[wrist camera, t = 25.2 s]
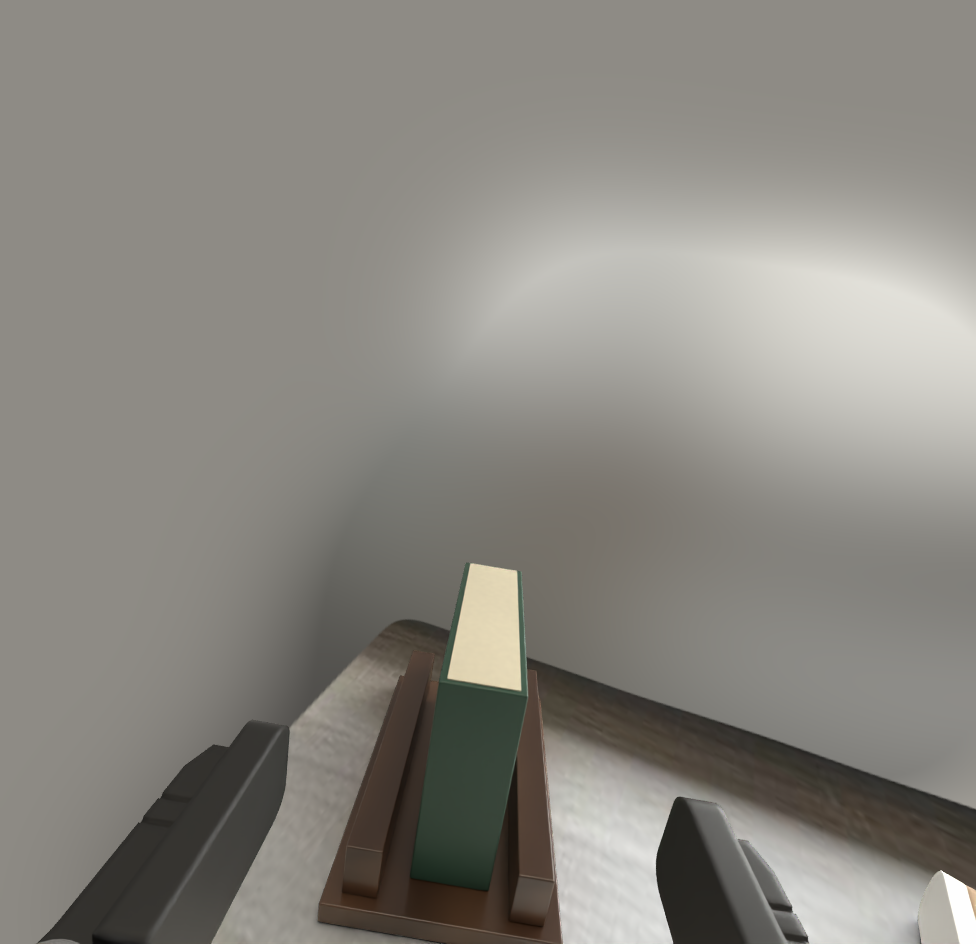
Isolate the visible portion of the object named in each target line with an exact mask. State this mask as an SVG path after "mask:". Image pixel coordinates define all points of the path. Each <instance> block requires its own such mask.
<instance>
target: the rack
mask: <svg viewBox="0 0 976 944" xmlns="http://www.w3.org/2000/svg"><path fill="white" fill-rule="evenodd" d="M434 656H435V654H432V653H426V652H420V651H414V650H413V652H412V655H411V658H410V661H409V664H408V667H407V670H406V673H405V676H400V677H399V680H398V682H397V685H396V688H395V691H394V694H393V697H392V699H391V702H390V705H389V708H388V711H387V713H386V716H385V719H384V722H383V725H382V727H381V730H380V733H379V736H378V739H377V742H376V744H375V747H374V750H373V753H372V756H371V758H370V761H369V764H368V767H367V770H366V773H365V775H364V778H363V781H362V784H361V787H360V789H359V792H358V795H357V798H356V801H355V803H354V806H353V809H352V812H351V815H350V818H349V820H348V823H347V826H346V829H345V832H344V834H343V837H342V840H341V843H340V846H339V848H338V851H337V854H336V857H335V860H334V863H333V865H332V868H331V871H330V874H329V877H328V879H327V882H326V885H325V888H324V891H323V894H322V896H321V899H320V902H319V909H318V921H319V922H324V923H330V924H336V925H342V926H347V927H353V928H359V929H365V930H371V931H376V932H382V933H388V934H394V935H400V936H406V937H411V938H417V939H423V940H429V941H435V942H440V943H446V944H563V939H562V928H561V918H560V907H559V896H558V885H557V874H556V864H555V853H554V842H553V831H552V821H551V810H550V799H549V788H548V778H547V767H546V756H545V745H544V734H543V724H542V713H541V702H540V699H539V696H538V684H537V673H536V671H534V670H528V669H527V681H528V701H527V706H526V711H525V716H524V721H523V726H522V731H521V736H520V741H519V745H518V750H517V755H516V760H515V765H514V770H513V775H512V780H511V785H510V790H509V794H508V799H507V804H506V809H505V814H504V819H503V824H502V829H501V834H500V838H499V843H498V848H497V853H496V858H495V863H494V868H493V873H492V878H491V883H490V887H489V890H488V891H483V890H477V889H471V888H465V887H460V886H454V885H448V884H442V883H436V882H431V881H425V880H419V879H413V878H410V870H411V864H412V857H413V850H414V844H415V837H416V830H417V823H418V817H419V810H420V803H421V797H422V790H423V783H424V777H425V770H426V763H427V757H428V750H429V743H430V737H431V730H432V723H433V716H434V710H435V703H436V696H437V690H438V683H439V682H437V681H431V676H432V669H433V663H434Z"/></svg>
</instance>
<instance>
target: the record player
mask: <svg viewBox="0 0 976 944" xmlns="http://www.w3.org/2000/svg"><path fill="white" fill-rule="evenodd" d="M918 925H919V931H920V937H921V943H922V944H976V891H975V890H974V889H972V888H970V887H968V886H965V884H963V883H961V882H960V881H958V880H956V879H954V878H953V877H951V876H949V875H947V874H946V873H944V872H942V871H938V872H937V873H936V874H935V875H934V876H933V878H932V879H931V881H930V883H929V884H928V886H927V888H926V890H925V892H924V895H923V897H922V900H921V903H920V907H919V911H918Z"/></svg>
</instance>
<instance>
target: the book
mask: <svg viewBox="0 0 976 944" xmlns="http://www.w3.org/2000/svg"><path fill="white" fill-rule="evenodd" d="M524 628H525V627H524V609H523V591H522V574H521V571H515V570H509V569H503V568H497V567H491V566H485V565H479V564H473V563H466V564H465V568H464V573H463V578H462V582H461V586H460V590H459V595H458V599H457V604H456V608H455V612H454V617H453V621H452V626H451V630H450V634H449V639H448V643H447V647H446V652H445V656H444V661H443V665H442V669H441V674H440V678H439V683H438V690H437V696H436V703H435V710H434V716H433V723H432V730H431V737H430V743H429V750H428V757H427V763H426V770H425V777H424V783H423V790H422V797H421V803H420V810H419V817H418V823H417V830H416V837H415V844H414V850H413V857H412V864H411V870H410V878H413V879H419V880H425V881H431V882H436V883H442V884H448V885H454V886H460V887H465V888H471V889H477V890H483V891H488V890H489V887H490V883H491V878H492V873H493V868H494V863H495V858H496V853H497V848H498V843H499V838H500V834H501V829H502V824H503V819H504V814H505V809H506V804H507V799H508V794H509V790H510V785H511V780H512V775H513V770H514V765H515V760H516V755H517V750H518V745H519V741H520V736H521V731H522V726H523V721H524V716H525V711H526V706H527V701H528V681H527V663H526V645H525V629H524Z"/></svg>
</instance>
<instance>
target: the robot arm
mask: <svg viewBox="0 0 976 944" xmlns="http://www.w3.org/2000/svg"><path fill="white" fill-rule="evenodd" d="M289 734H290V731H289V727H288V726H284V725H279V724H273V723H268V722H262V721H256V720H251V721H249V722H248V723H247V724H246V725H245V726H244V727H243V729H242V730H241V732H240V733H239V734H238V736H237V737H236V738H235V740H234V741H233V743H232V744H231V745H230V747H224V746H218V745H212V746H211V747H210V748H208V749H207V750H205V751H204V752H203V753H201V754H200V755H199V756H197V757H196V758H194V759H193V760H192V761H190V762H189V763H188V764H186V765H185V766H184V767H183V768H182V770H181V771H180V772H179V773H178V775H177V776H176V777H175V778H174V780H173V781H172V782H171V783H170V784H169V786H168V787H167V788H166V789H165V790H164V792H163V794H162V796H161V798H160V799H159V798H158V799H157V800H156V802H155V803H154V804H153V805H152V807H151V808H150V809H149V810H148V811H147V813H146V814H145V815H144V817H143V820H142V822H141V823H138V824H137V825H136V826H135V827H134V829H133V830H132V831H131V832H130V834H129V835H128V836H127V837H126V839H125V840H124V841H123V842H122V844H121V845H120V846H119V847H118V849H117V850H116V851H115V852H114V853H113V855H112V856H111V857H110V858H109V859H108V861H107V862H106V863H105V864H104V866H103V867H102V868H101V869H100V871H99V872H98V873H97V874H96V875H95V877H94V878H93V879H92V880H91V882H90V883H89V884H88V886H87V887H86V888H85V889H84V890H83V891H82V893H81V894H80V895H79V897H78V898H77V899H76V900H75V901H74V903H73V904H72V905H71V906H70V908H69V909H68V910H67V911H66V912H65V914H64V915H63V916H62V918H61V919H60V920H59V921H58V922H57V923H56V924H55V926H54V927H53V928H52V929H51V930H50V931H49V932H48V933H47V934H46V935H45V936H44V937H43V938H42V939H41V940H40V941H39V942H38V943H37V944H211V942H212V940H213V939H214V937H215V935H216V933H217V931H218V929H219V927H220V925H221V923H222V921H223V919H224V917H225V915H226V913H227V911H228V909H229V908H230V906H231V904H232V902H233V900H234V898H235V896H236V894H237V892H238V890H239V888H240V886H241V884H242V882H243V880H244V879H245V877H246V875H247V873H248V871H249V869H250V867H251V865H252V863H253V861H254V859H255V857H256V855H257V853H258V851H259V849H260V848H261V846H262V844H263V842H264V840H265V838H266V836H267V834H268V832H269V830H270V828H271V826H272V824H273V822H274V820H275V818H276V816H277V813H278V811H279V808H280V805H281V802H282V799H283V795H284V791H285V786H286V774H287V761H288V748H289ZM656 876H657V884H658V890H659V894H660V897H661V901H662V904H663V908H664V911H665V915H666V918H667V922H668V926H669V929H670V933H671V936H672V940H673V943H674V944H809V942H808V936H807V934H806V932H805V930H804V928H803V927H802V925H801V923H800V921H799V919H798V917H797V915H796V914H794V913H793V911H792V905H791V904H790V902H789V900H788V898H787V896H786V894H785V892H784V890H783V888H782V886H781V884H780V883H779V881H778V879H777V877H776V875H775V873H774V871H773V870H772V869H771V868H770V867H769V865H768V864H767V863H766V862H765V861H764V859H763V858H762V857H761V856H760V855H759V853H758V852H757V851H756V850H755V849H754V847H753V846H752V845H751V844H750V843H749V841H746V840H740V839H737V838H736V836H735V833H734V831H733V829H732V827H731V825H730V823H729V821H728V819H727V817H726V815H725V813H724V811H723V809H722V808H721V807H720V806H719V805H718V804H717V803H713V802H707V801H701V800H696V799H690V798H684V797H677V798H676V799H675V801H674V803H673V806H672V809H671V812H670V815H669V818H668V821H667V824H666V827H665V830H664V833H663V836H662V839H661V842H660V846H659V849H658V852H657V858H656Z"/></svg>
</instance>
